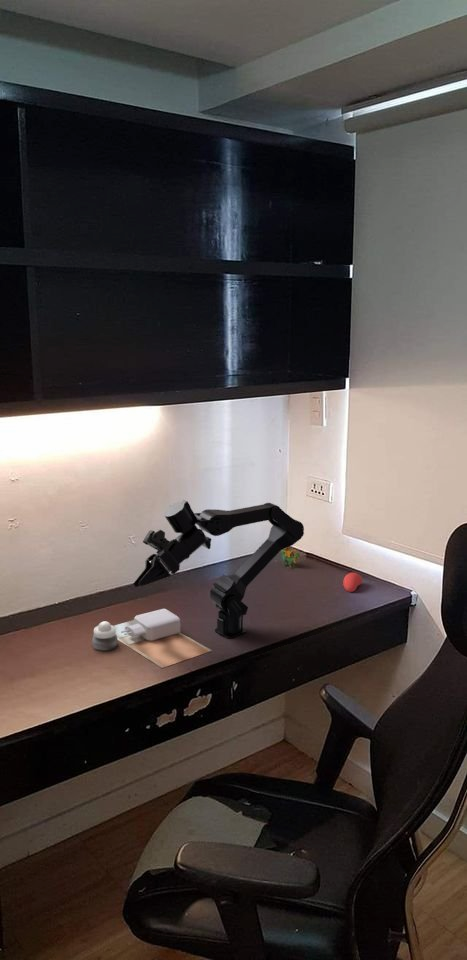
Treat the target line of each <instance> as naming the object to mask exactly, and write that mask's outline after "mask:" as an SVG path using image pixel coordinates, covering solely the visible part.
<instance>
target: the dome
mask: <svg viewBox="0 0 467 960" xmlns="http://www.w3.org/2000/svg"><path fill="white" fill-rule="evenodd" d="M114 626H115V625H112V624H111V623H110V622H108V621H106V620H105V621H101V622H100V623H99V624H98V625H97V626H95V627H94V628H93V636H95V637H97V638H102V639H105V638H111V637H113V636H115V634H116V628H115V627H114Z"/></svg>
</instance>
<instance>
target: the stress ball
mask: <svg viewBox="0 0 467 960" xmlns="http://www.w3.org/2000/svg"><path fill="white" fill-rule="evenodd" d="M362 582H363V578H362V576H361V574H359V573H357V572H349V573H348V574H346V575H345V576H344V578H343V582H342V584H343V585H342V586H343V587H344V589H345V590H346V591H347V592H349V593H352V592H354V591H356V589H357V588H358V586H360V585H361V584H362Z"/></svg>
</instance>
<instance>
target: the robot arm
mask: <svg viewBox="0 0 467 960" xmlns="http://www.w3.org/2000/svg"><path fill="white" fill-rule="evenodd" d="M163 516H164V517H165V519H166V520H167V523H169V526H170V527H171V528H172V530H173V532H174V533H177V534H179V535H178V536H177V537H176V538H174V539H171V540H168V539H167V538H166V531H164V530H162V529H158V530H157V531H154V530H149V531H148V532H147V534H146V535H145V537H144V539H143V540H142V543H143V544H145V545H148V546H149V547H151V548H153V549H155V550H156V553H153V554H151V555H149V556H147V558H146V559H145V560H144V562H145V568H144V569H143V570H142V572H140V574H139V575H138V577H137V578H136V579H135V581H134V582H133V583H132V585H133V587H135V588H137V587H143V586H146V585H149V584H151V583H154V582H157V581H161V580H163V579H166V578H168V577H169V578H170V577H171V576H173V575H176V573H178V572H179V571H180V567H181V564H182V563H183V562H184V561H186V560H188V559H189V558H190V557H191V555H193V554H194V553H195V552H196V551H197V550H199V549H200V548H201V547H202V546H203V547H204V548H206V549H208V550H210V549H211V546H212V545H211V542H212V538H211V537H208V536H207V535H206V534H205V532H206V533H207V534H209V535H211V536H214V537H218V536H219V537H220V536H221V535H222V536H223V535H224V534H227V533H229V532H231V531H232V530H233V529H234V528H237V527H241V526H242V527H243V526H247V525H250V524H256V523H260V522H266V521H268V522H269V523H270V524H271V525H272V526H271V528H270V530H269V534H268V537H267V539H266V540H265V541H264V542H263V543H262V544H260V546H259V547H258V548H257V549H256V550H255V552H253V554H251V555H250V556H249V558H248V559H247V560H246V561H245V562H243V564H242V565H241V566H240V567H239V568H238V569H237V570H236V571H235V572H234V574H232V575H230V576H229V575H228V576H227V575H225V574H222V575H220V577H219V578H218V580H217V581H215V582H214V583H212V587H211V589H210V591H209V593H210V594H209V598H210V600H211V602H212V603H214V606H215V608H216V609H219V611H218V614H217V618H216V628H214V632H216V633H217V634H220V635H221V636H223V637H225V638H227V639H232V638H235V637H238V636H241V635H244V634H247V630H246V629H244V616H245V615H247V613H248V608H249V607H248V606H247V605H246V604H245V603H244V602H243V601H242V600H244V597H245V595H246V591H247V588H248V587H249V585H250V584H251V583H252V582H253V581H254V580H255V579H256V578H257V576H258V575H259V574H261V572H262V571H263V570H265V568H266V567H267V566H268V565H269V564H270V563H271V562H272V561H273V559H274V558H275V557H276V556H277V555H278V554H280V553H279V552H280V551H281V550H285V548H287V547H290V548H291V547H292V546H293V545H295V544H296V543H298V542H299V541H300V540H301V539H302V538H303V536H304V535H305V532H304V531H305V528H304V524H303V523H302V522H301V521H299V520H297V519H294V518H293V517H291V516H290V515H289V514H287V513H286V512H285V511H284V510H283V509H282V508H281V507H280V506H279V505H276V504H274V503H271V502H266V503H263V504H259V505H252V506H248V507H241V508H238V509H232V510H225V509H224V510H223V509H214V508H213V509H204V510H203V511H201V512H194V511H193V509H192V508H191V505H190V503H189V501H187V500H186V499H183V500H182V501H181V502H176V503H173V504H170V505H169V506H168V507H166V508H165V510H164V511H163ZM198 527H199V528H198Z"/></svg>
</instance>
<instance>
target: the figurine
mask: <svg viewBox="0 0 467 960" xmlns="http://www.w3.org/2000/svg"><path fill="white" fill-rule="evenodd" d="M278 554H281V555H282V556H281V557H282V565H283V567H288V566H289V567H290V569H291V570H292V569H293V568H294V569H295V568H296V566H295V564H297V563H300V561H299V560H300V559H301V556H300V552H299V551H297V550H296V549H291V546H290V547H287V548H285V549H282V550H281V551H280V552H279V553H278ZM285 563H286V564H285Z"/></svg>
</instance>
